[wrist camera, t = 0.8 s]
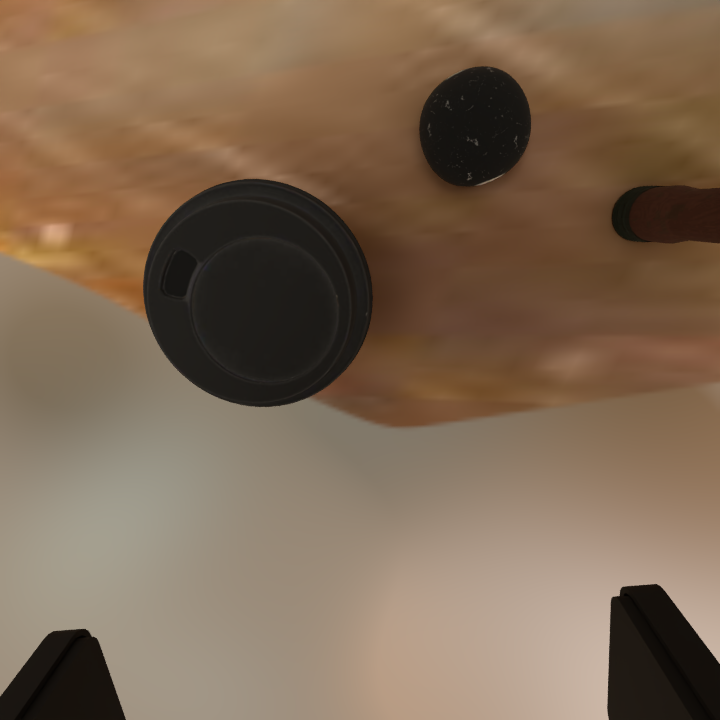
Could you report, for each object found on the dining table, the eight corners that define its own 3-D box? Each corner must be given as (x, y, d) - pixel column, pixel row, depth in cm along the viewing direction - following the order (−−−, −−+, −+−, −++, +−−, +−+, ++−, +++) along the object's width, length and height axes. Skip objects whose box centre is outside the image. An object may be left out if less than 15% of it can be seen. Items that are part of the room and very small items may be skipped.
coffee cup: (222, 194, 32) (103, 182, 18) (369, 187, 32) (367, 169, 18) (239, 336, 35) (147, 425, 21) (374, 331, 35) (377, 417, 20)
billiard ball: (434, 202, 32) (448, 201, 26) (401, 107, 31) (408, 83, 25) (525, 165, 31) (559, 155, 26) (496, 65, 30) (525, 30, 24)
